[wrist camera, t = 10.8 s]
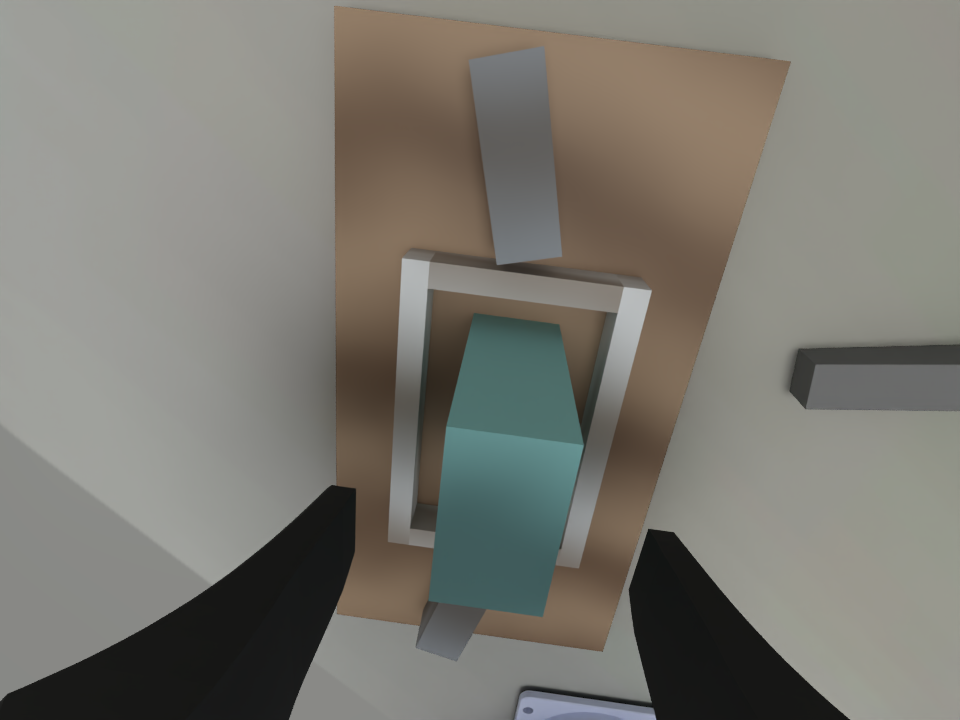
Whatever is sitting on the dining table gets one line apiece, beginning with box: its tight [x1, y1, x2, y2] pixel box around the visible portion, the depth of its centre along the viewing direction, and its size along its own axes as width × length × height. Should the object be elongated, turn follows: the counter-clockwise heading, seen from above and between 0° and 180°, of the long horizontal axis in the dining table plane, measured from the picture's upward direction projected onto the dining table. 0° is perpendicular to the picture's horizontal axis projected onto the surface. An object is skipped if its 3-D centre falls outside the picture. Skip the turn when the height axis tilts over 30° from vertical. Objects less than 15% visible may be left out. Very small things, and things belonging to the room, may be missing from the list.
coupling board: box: [334, 6, 791, 661], centre depth 18 cm, size 23×12×3 cm, turn 174°
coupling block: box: [428, 313, 584, 617], centre depth 15 cm, size 3×5×7 cm, turn 173°
